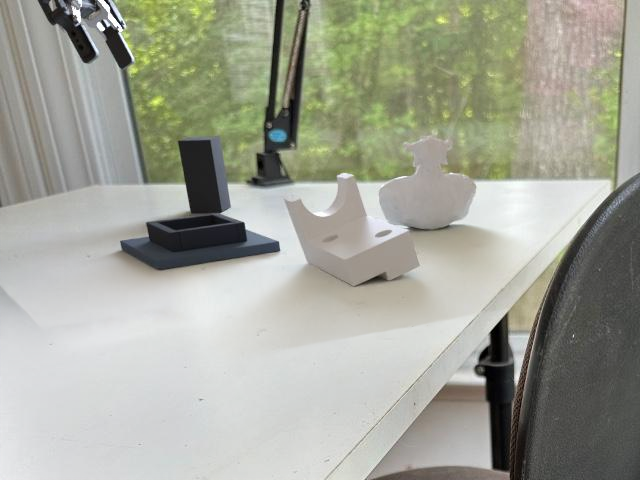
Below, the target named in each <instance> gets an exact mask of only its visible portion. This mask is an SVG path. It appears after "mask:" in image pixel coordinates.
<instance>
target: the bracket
mask: <svg viewBox="0 0 640 480" xmlns="http://www.w3.org/2000/svg"><path fill="white" fill-rule="evenodd" d="M336 180H337V192H336V195H335V198H334V201H333V202H332V203H331V205H329V207H328V208H326V209H325V210H322V211H318V212H311V211H310V210H309V209H307V207H306V205H304V203H303V201H302V198H300V197H297V196H295V195H289V196H287V197H285V198H283V201H284V203H285V207H286V209H287V211H288V214H289V218H290V219H291V222H292V225H293V228H294V230H295V233H296V236H297V238H298V241H299V245H300V247H301V250H302V252H303V255H304V257H305V260H306V263H308V264H310V265H311V266H314V267H316V268H318V269H320V270H321V271H324V272H325V273H327V274H329V275H331V276H332V277H335V278H337V279H339V280H341V281H343V282H344V283H346V284H348V285H350V286H352V287H355V286H358V285H360V284H362V283H364V282H367V281H369V280H371V279H373V278H375V277H377V276H378V277H379V278H381V279H384V280H387V281H391V280H393V279H397V278H398V277H400V276H402V275H404V274H406V273H409V272H411V271H413V270H415V269H417V268H419V267H421V264H420V261H419V258H418V254H417V251H416V247H415V244H414V240H413V237H412V234H411V230H410V229H407V228H405V227H403V226H400V225H394V224H391V223H389V222H388V221H385V220H382V219H379V218H376V217H373V216H370V215H367V211H366V209H365V205H364V203H363V199H362V196H361V193H360V190H359V186H358V183H357V180H356V177H355V175H354V174H352V173H348V172H342V173H340V174H337V175H336Z"/></svg>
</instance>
